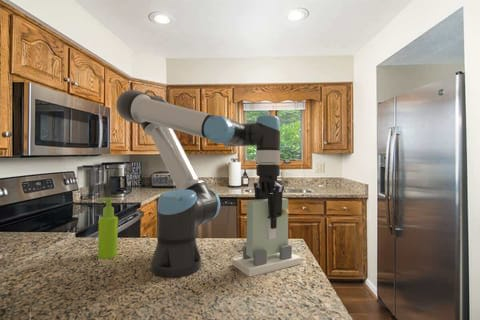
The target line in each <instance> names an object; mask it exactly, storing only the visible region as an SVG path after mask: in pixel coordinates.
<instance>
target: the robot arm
mask: <svg viewBox="0 0 480 320" xmlns="http://www.w3.org/2000/svg"><path fill="white" fill-rule="evenodd" d="M115 105H116V106H115V107H116V110H117V113H118V115H119V116H120V117H121V118H122V119H123V120H125V121H127V122H130V123H133V124H137V125H140V126H141V129H142V130H143V132H144V134H145V136H149V137H151V139H152V141H153V143H154V145H155V147H156V149H157V151H158V152H159V155H160V157H161V160H162V162H163V163H164V166H165V167H166V169H167V171H168V173H169V175H170V177H171V180H172V181H173V183H174V186H175V188H176V189H175V190H174V189H173V190H169V191H165V192H162V193H161V194H160V195H159V197H158V200H157V206H156V207H157V208H156V210H157V219H156V220H157V226H156V227H157V229H156V231H157V233H156V235H157V237H156V239H157V241H156V242H157V243H156V245H155V249H154V251H153V255H152V258H151V261H150V271H151V273H152V274H154V275H156V276H160V277H165V278H175V277H176V278H177V277H183V276H188V275H191V274H194V273H196V272H198V271H199V270H200V269H201V267H202V257H201V253H200V250H199V247H198V244H197V240H196V239H197V237H196V236H197V227H198V226H199V227H200V226H201V225H204V224H208V223H209V222H211V221H212V220H214V219H215V218H216V217H218V215H219V213H220V209H221V200H220V196H219V195H218V194H217V192H215V191H214V190H212V189H209V187H208V185H207V183H206V181H205V180H201V179H200V178H199V177H198V175H197V173H196V171H195V169H194V167H193V165H192V163H191V162H190V159H189V158H188V155H187V153H186V152H185V150H184V147H183V145H182V144H181V142H180V140H179V138H178V136H177V134H176V132H175V131H179V132H181V133H186V134H189V135H191V136H195V137H199V138H203V139H206V140H209V141H211V142H213V143H216V144H223V145H224V146H226V147H233V148H235V147H256V152H255V153H256V159H255V160H256V163H258V164H257V165H256V166H255V167H256V169H255V170H256V171H255V172H256V173H255V174H256V176H257V177H258V181H257V182H253V189H254V200H259V199H268V208H269V217H268V235H267V239H274V238H276V227H277V217H281V216H282V198H283V195H284V194H283V193H284V190H285V185H282V184H280V183H279V180H278V177H280V176H281V173H280V172H281V166H280V162H281V161H280V160H281V159H280V158H281V153H280V151H281V149H280V147H281V124H280V123H281V122H280V118H279V117H278V116H276V115H271V114H267V115H266V114H265V115H259V116H257V117H256V121H255V122H251V123H250V122H249V123H240V122H238V121H236V120H233V119H229V118H228V117H226V116H224V115H218V114H211V113H208V112H204V111H200V110H195V109H192V108H188V107H185V106H184V107H183V106H180V105H176V104H172V103H169V102H168V101H166V100H164V99H163V98H161V97H159V96H153V95H151V94H148V93H146V92H142V91H140V90H135V89H128V90H125V91H124V92H121V94H120V95H118V97H117V99H116V103H115Z"/></svg>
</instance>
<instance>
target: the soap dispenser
mask: <svg viewBox="0 0 480 320" xmlns="http://www.w3.org/2000/svg"><path fill="white" fill-rule="evenodd" d="M114 200H115V198H114V197H103V198H100V199H97V200H96V202H99V203H102V202H105V206H104V207H102V208H103V209H102V217H99V218H98V242H97V243H98V245H97V247H98V249H97V251H98V256H97V257H98V258H99V259H102V260H103V259H104V260H107V259H113V258H114V257H117V256H118V231H119V229H118V227H119V226H118V225H119V217H118V216H116V215H115V207H113V206H112V201H114Z"/></svg>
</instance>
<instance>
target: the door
mask: <svg viewBox="0 0 480 320" xmlns="http://www.w3.org/2000/svg"><path fill="white" fill-rule="evenodd" d="M289 213H290V212H289V198H285V197H284V198H283V197H282V216H281V217H277V227H276V238H274V239H267V235H268V217H269V208H268V199H259V200H255V199H249V200H246V231H245V232H246V234H245V235H246V238H245V239H246V241H245V242H246V244H245V245H246V255H248V256H250V257H251V258H254V251H259V250H264V249H265V250H267V255H270V254H275V253H279V252H280V246H285V245H289Z"/></svg>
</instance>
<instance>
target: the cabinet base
mask: <svg viewBox="0 0 480 320" xmlns="http://www.w3.org/2000/svg"><path fill="white" fill-rule="evenodd" d="M292 249H293V247H292V245H291V244H288V245H285V246H280V252H279V253H275V254H270V255H267V250H265V249H264V250H259V251H254V258H251V257H250V256H248V255H246V244H245V245H242V256H240V257H239V256H238V257H234V258H232V263H231V264H232V266H233V267H235V268H236V269H237V270H239V271H240V272H242V273H243V274H245V275H246V276H248V278H250V277H255V276H258V275H263V274H266V273H267V274H268V273H270V272H274V271H278V270H282V269H283V270H284V269H286V268H290V267H294V266H299V265H301V264H302V257H301V256H299V255H296V254H294V253H293V252H292V251H293V250H292Z"/></svg>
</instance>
